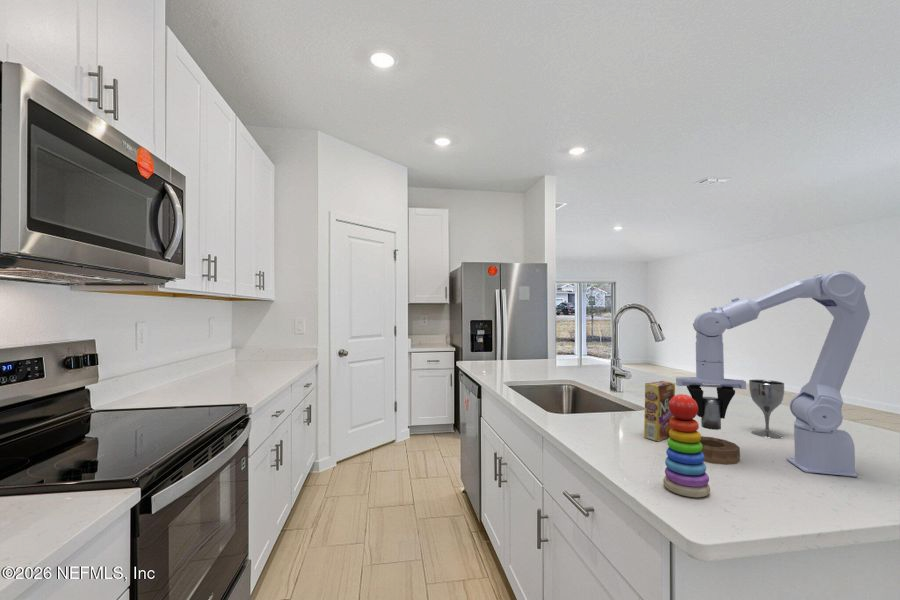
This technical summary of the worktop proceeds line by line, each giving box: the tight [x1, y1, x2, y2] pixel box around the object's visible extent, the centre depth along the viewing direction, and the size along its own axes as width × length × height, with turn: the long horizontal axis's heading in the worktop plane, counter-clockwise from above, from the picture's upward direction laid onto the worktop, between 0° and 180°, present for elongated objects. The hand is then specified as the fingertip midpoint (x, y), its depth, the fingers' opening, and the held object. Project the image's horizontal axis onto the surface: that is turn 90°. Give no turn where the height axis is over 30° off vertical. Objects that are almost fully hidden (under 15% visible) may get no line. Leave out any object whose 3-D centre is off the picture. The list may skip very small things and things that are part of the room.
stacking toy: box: [662, 393, 711, 498], centre depth 79 cm, size 8×8×19 cm
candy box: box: [643, 380, 676, 442], centre depth 112 cm, size 9×4×15 cm, turn 123°
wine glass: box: [748, 379, 785, 439], centre depth 115 cm, size 8×8×15 cm
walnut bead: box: [700, 435, 741, 465], centre depth 98 cm, size 11×11×3 cm
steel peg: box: [700, 396, 722, 431], centre depth 98 cm, size 4×4×7 cm
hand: (710, 416), depth 98 cm, fingers closed on steel peg, 4 cm apart
